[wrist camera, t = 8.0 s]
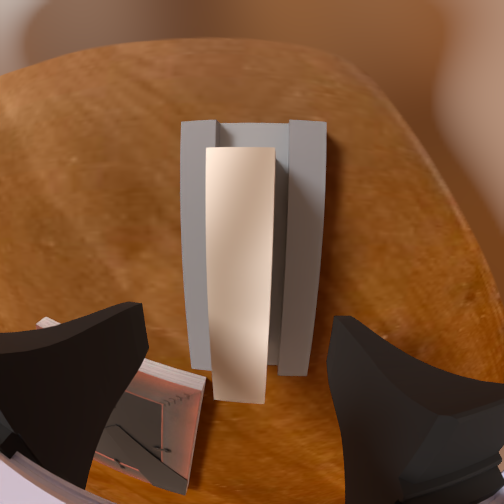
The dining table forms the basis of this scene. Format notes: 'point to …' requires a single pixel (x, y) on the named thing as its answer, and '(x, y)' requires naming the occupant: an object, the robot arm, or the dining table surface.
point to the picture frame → (153, 425)
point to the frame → (239, 268)
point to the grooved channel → (284, 240)
